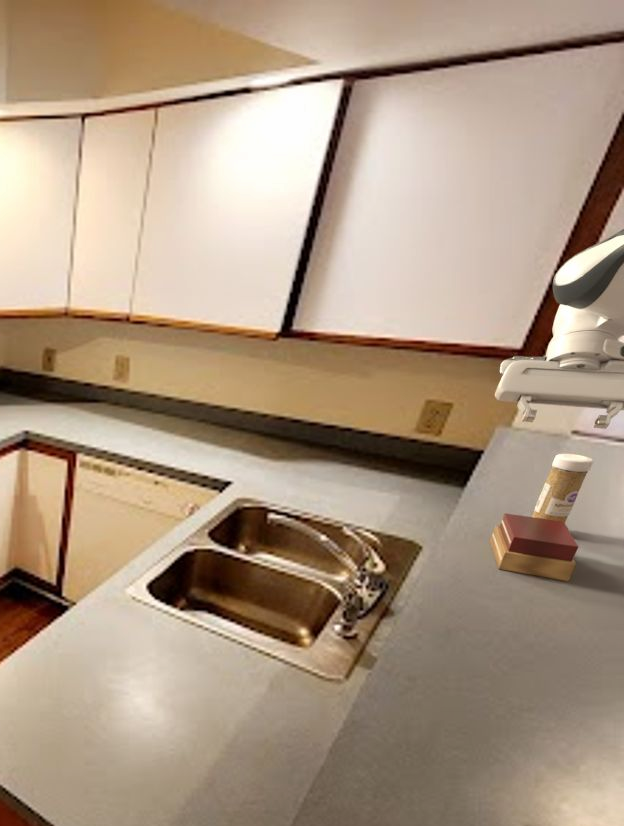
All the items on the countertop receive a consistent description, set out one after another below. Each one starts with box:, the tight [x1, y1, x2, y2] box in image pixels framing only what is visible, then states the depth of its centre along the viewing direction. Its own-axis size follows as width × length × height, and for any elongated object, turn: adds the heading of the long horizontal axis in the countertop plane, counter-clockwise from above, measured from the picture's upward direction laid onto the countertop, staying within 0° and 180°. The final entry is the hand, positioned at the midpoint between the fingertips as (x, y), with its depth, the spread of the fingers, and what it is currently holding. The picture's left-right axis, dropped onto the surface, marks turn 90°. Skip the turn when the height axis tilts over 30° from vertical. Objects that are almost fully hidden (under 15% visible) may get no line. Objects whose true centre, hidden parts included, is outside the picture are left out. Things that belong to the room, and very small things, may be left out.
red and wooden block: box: [489, 513, 579, 582], centre depth 99 cm, size 8×12×6 cm, turn 145°
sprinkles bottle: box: [531, 453, 594, 524], centre depth 107 cm, size 5×5×14 cm
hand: (563, 423), depth 111 cm, fingers open, 8 cm apart
